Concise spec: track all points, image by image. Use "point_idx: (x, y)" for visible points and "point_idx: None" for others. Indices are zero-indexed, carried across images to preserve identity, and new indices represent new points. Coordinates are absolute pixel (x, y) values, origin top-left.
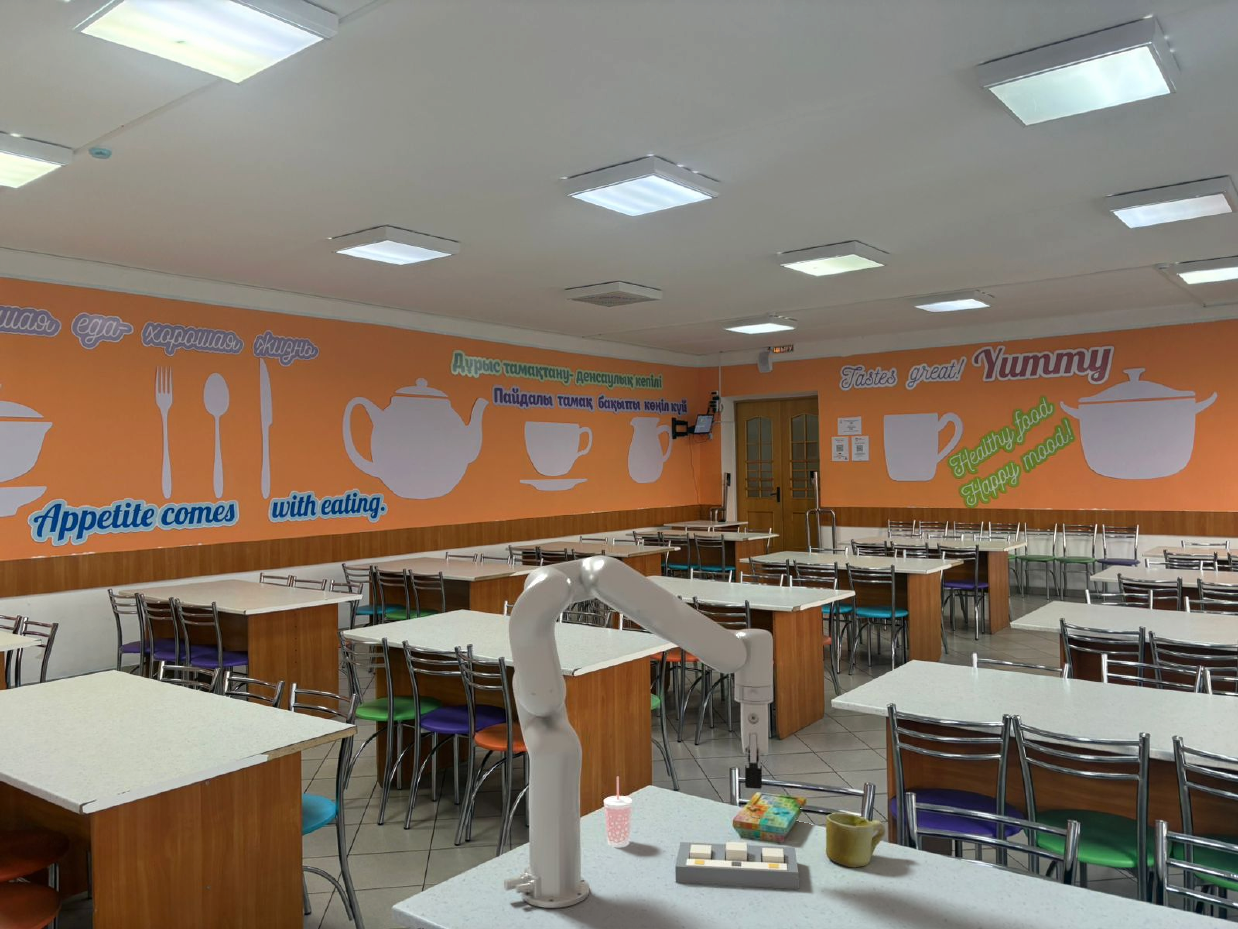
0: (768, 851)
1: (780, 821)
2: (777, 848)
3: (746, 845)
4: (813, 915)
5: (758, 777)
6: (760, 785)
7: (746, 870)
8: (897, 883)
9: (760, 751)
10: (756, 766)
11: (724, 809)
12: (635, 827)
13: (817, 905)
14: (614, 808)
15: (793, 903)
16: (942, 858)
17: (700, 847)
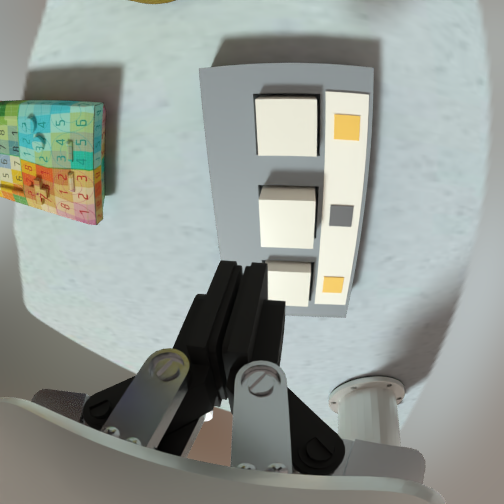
0: (282, 139)
1: (70, 124)
2: (256, 114)
3: (278, 200)
4: (475, 66)
5: (258, 317)
6: (263, 275)
7: (365, 192)
8: None
9: (148, 444)
10: (296, 400)
11: (27, 227)
12: (142, 339)
13: (436, 45)
14: (212, 412)
15: (432, 92)
16: None
17: (278, 290)
